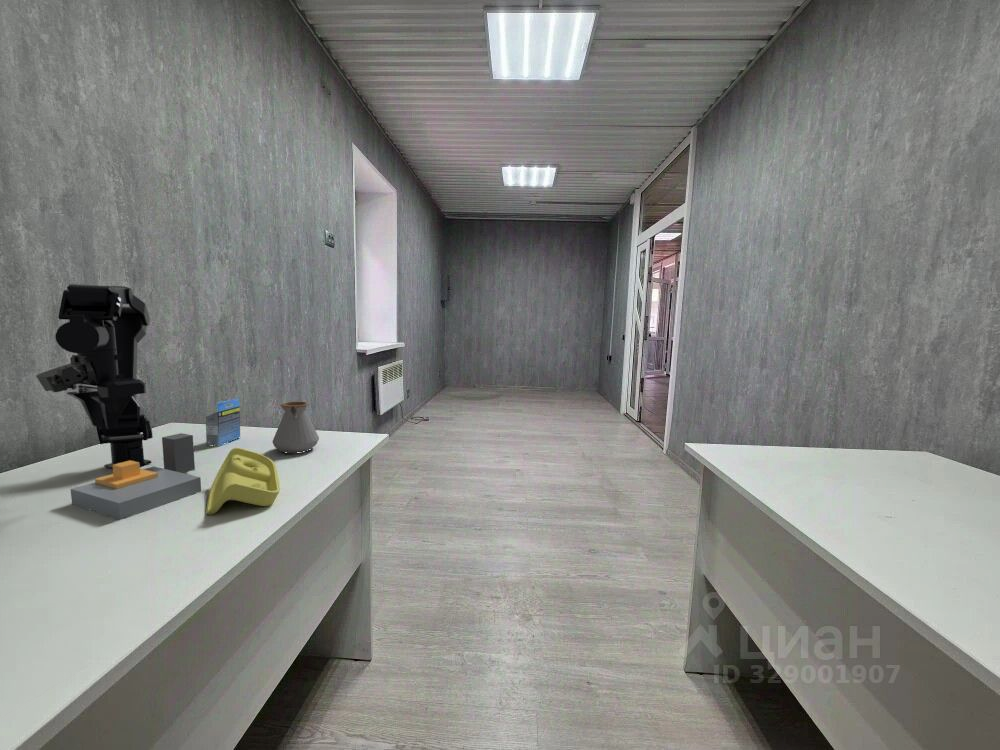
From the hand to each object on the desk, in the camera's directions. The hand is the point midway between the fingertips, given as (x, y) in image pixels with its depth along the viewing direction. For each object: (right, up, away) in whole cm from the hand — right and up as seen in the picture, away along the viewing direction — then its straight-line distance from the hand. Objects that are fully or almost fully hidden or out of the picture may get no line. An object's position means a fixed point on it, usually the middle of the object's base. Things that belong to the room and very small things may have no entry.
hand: (103, 427), depth 86 cm
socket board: (+9, -14, -2) cm, 16 cm away
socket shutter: (+6, -10, -1) cm, 12 cm away
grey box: (+8, -12, +10) cm, 18 cm away
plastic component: (+28, -14, +1) cm, 32 cm away
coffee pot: (+26, -11, +27) cm, 39 cm away
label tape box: (+1, -9, +36) cm, 37 cm away
